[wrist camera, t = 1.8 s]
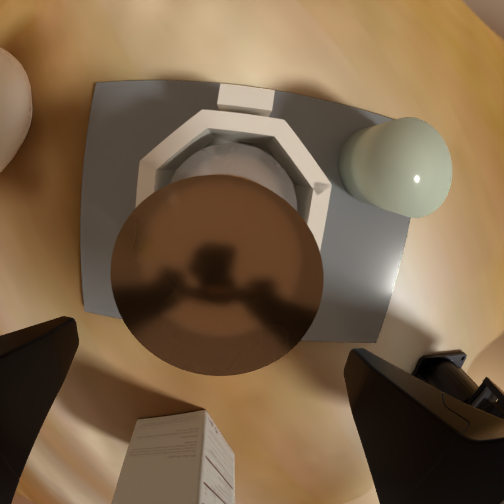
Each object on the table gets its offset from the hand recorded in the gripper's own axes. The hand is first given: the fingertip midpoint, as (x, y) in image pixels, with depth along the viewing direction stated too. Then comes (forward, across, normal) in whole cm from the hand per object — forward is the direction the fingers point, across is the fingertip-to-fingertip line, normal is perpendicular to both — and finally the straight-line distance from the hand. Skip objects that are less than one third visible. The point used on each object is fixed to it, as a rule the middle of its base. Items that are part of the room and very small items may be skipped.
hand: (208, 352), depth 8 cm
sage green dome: (+10, -9, -7) cm, 15 cm away
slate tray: (+11, -1, -3) cm, 11 cm away
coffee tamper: (+6, 0, -4) cm, 7 cm away
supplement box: (+11, +2, +18) cm, 21 cm away
